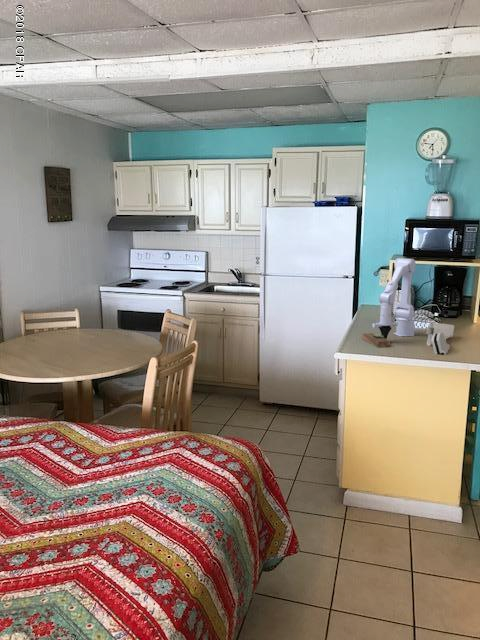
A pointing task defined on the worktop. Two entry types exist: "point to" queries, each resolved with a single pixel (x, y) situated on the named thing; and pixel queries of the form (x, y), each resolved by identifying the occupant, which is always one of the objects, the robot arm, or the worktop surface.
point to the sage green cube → (377, 336)
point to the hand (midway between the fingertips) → (384, 339)
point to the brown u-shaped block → (376, 340)
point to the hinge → (440, 343)
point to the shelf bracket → (439, 331)
